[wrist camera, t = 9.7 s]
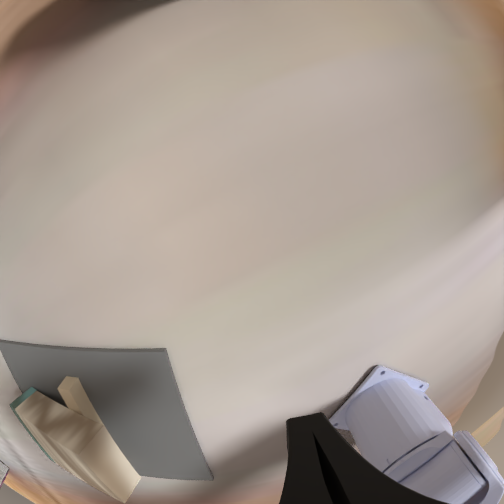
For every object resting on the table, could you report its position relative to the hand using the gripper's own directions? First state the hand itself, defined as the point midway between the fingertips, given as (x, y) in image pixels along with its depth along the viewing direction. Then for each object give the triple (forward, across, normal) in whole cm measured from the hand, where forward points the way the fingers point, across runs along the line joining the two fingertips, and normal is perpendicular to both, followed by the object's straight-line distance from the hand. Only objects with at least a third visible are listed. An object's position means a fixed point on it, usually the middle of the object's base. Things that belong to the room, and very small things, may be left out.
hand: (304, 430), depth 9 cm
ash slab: (+5, +15, +12) cm, 20 cm away
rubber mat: (+10, +18, +12) cm, 24 cm away
